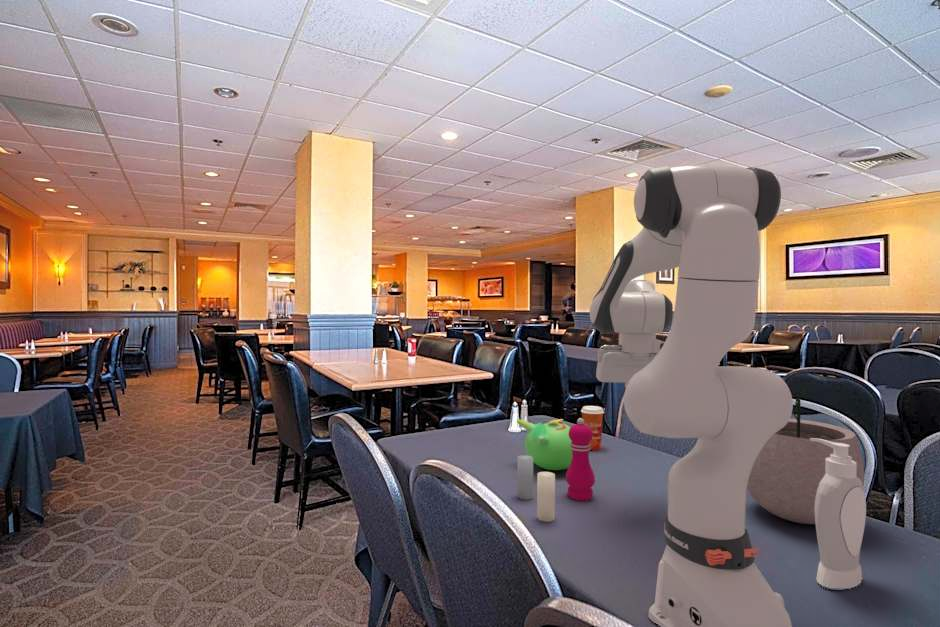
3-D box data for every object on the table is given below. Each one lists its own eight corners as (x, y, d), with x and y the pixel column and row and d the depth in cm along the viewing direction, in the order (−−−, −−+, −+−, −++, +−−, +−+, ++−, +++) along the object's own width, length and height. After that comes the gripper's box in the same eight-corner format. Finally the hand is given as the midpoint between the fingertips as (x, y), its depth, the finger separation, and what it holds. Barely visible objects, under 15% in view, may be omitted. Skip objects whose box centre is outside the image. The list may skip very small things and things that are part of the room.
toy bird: (592, 474, 143) (592, 423, 142) (541, 481, 136) (541, 428, 136) (558, 456, 159) (559, 411, 159) (511, 462, 153) (512, 415, 153)
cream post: (557, 521, 111) (557, 476, 111) (540, 522, 111) (540, 478, 111) (551, 513, 115) (551, 471, 115) (534, 515, 115) (535, 472, 114)
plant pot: (783, 492, 129) (785, 377, 129) (889, 531, 107) (891, 392, 106) (714, 505, 120) (715, 382, 120) (814, 550, 98) (816, 400, 98)
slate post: (535, 499, 124) (535, 459, 124) (519, 500, 123) (519, 460, 123) (530, 493, 128) (530, 454, 128) (515, 494, 127) (515, 455, 127)
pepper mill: (573, 502, 122) (574, 422, 121) (560, 492, 129) (561, 415, 128) (600, 499, 124) (600, 420, 123) (585, 489, 131) (586, 414, 130)
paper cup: (579, 450, 166) (580, 409, 166) (581, 444, 173) (581, 404, 173) (603, 452, 164) (604, 410, 163) (604, 446, 171) (604, 406, 171)
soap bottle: (829, 560, 94) (831, 433, 94) (877, 580, 87) (879, 443, 87) (787, 575, 89) (788, 440, 89) (834, 598, 82) (835, 452, 82)
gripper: (602, 345, 120) (601, 402, 120) (681, 346, 123) (680, 402, 122) (592, 344, 126) (591, 398, 126) (667, 345, 129) (666, 398, 129)
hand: (636, 400), depth 124 cm, fingers closed
